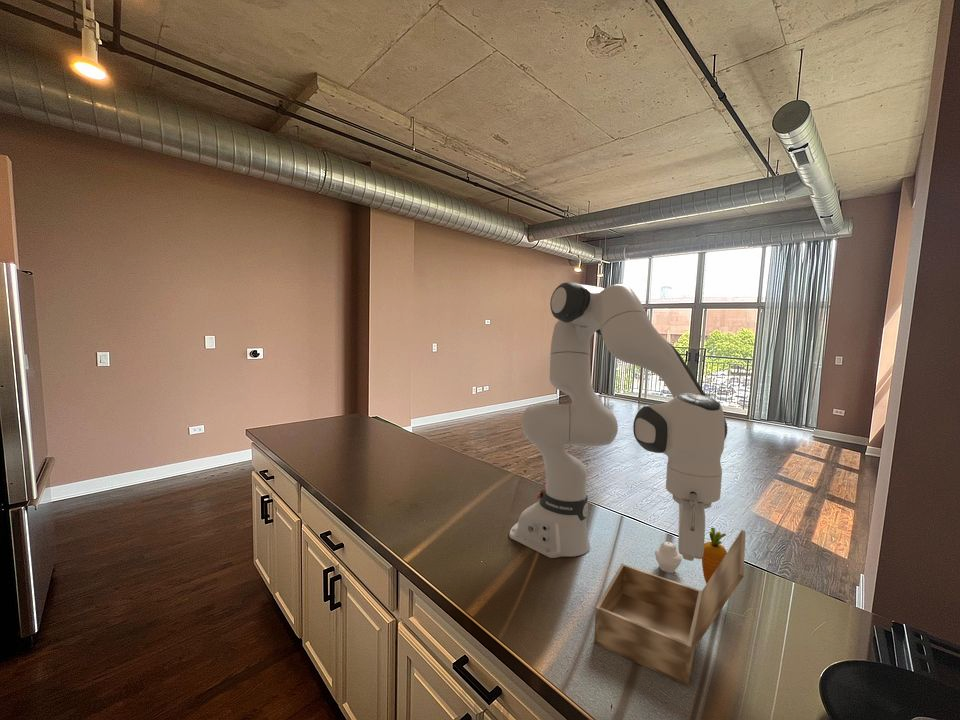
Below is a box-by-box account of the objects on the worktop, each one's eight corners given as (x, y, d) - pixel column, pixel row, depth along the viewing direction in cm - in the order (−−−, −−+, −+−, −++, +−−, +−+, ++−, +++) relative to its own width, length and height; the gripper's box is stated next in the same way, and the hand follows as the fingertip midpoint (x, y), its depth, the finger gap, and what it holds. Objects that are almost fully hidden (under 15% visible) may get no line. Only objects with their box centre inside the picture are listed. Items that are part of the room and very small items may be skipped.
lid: (739, 573, 62) (744, 576, 61) (742, 529, 76) (746, 532, 76) (691, 644, 66) (695, 647, 66) (702, 590, 80) (706, 592, 80)
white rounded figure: (649, 568, 100) (651, 541, 100) (659, 559, 104) (661, 533, 104) (675, 579, 96) (677, 551, 95) (684, 569, 100) (686, 542, 100)
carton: (593, 643, 75) (595, 607, 75) (620, 593, 90) (621, 563, 90) (688, 687, 66) (691, 646, 66) (700, 624, 81) (702, 590, 81)
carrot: (701, 583, 95) (705, 521, 94) (726, 592, 92) (730, 528, 91) (697, 593, 91) (701, 529, 90) (722, 603, 88) (727, 537, 87)
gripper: (717, 509, 62) (711, 594, 63) (709, 470, 80) (704, 536, 81) (672, 501, 65) (667, 582, 66) (674, 464, 83) (670, 528, 84)
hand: (687, 556), depth 74 cm, fingers closed
